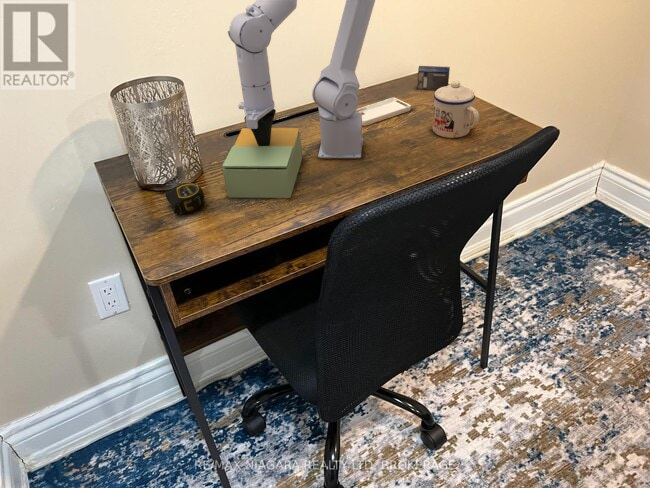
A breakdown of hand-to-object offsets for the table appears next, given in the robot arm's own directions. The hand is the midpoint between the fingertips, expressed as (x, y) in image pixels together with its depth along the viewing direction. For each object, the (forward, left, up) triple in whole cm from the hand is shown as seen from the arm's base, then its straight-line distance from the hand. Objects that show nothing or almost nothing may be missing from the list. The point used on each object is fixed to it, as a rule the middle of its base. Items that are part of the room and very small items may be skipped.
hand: (264, 146), depth 107 cm
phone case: (-23, -30, -7) cm, 39 cm away
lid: (0, -3, 0) cm, 3 cm away
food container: (+22, +2, -7) cm, 23 cm away
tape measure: (+14, +14, -7) cm, 21 cm away
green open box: (0, +1, -7) cm, 7 cm away
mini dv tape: (-37, -46, -7) cm, 60 cm away
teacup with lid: (-41, -19, -7) cm, 46 cm away
